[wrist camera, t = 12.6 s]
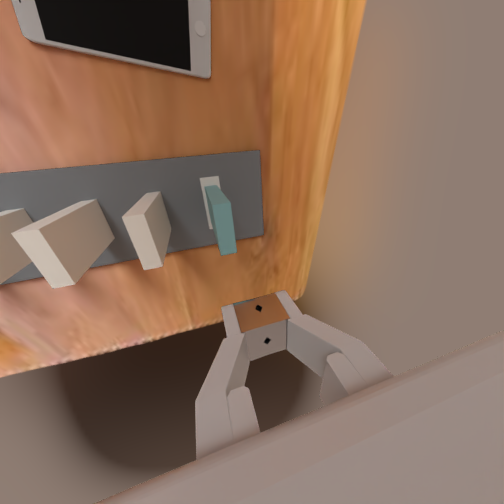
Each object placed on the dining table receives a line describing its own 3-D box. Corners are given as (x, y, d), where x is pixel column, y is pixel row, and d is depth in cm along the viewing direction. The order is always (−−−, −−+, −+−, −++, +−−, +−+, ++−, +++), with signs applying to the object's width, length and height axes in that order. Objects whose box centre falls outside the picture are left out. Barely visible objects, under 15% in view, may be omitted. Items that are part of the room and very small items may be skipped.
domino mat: (-203, 191, 16) (-222, 193, 16) (257, 150, 25) (260, 150, 25) (-77, 296, 22) (-86, 301, 22) (262, 233, 31) (264, 235, 30)
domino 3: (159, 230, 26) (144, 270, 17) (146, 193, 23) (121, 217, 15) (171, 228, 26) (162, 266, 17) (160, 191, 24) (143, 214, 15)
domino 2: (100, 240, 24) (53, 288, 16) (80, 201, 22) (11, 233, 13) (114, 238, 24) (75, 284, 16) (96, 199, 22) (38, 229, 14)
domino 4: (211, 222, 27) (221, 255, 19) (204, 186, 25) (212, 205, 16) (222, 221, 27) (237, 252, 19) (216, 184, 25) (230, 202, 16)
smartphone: (210, 81, 21) (211, 78, 20) (30, 43, 17) (22, 38, 16) (209, -17, 18) (210, -25, 17) (-13, -95, 13) (-26, -111, 13)
